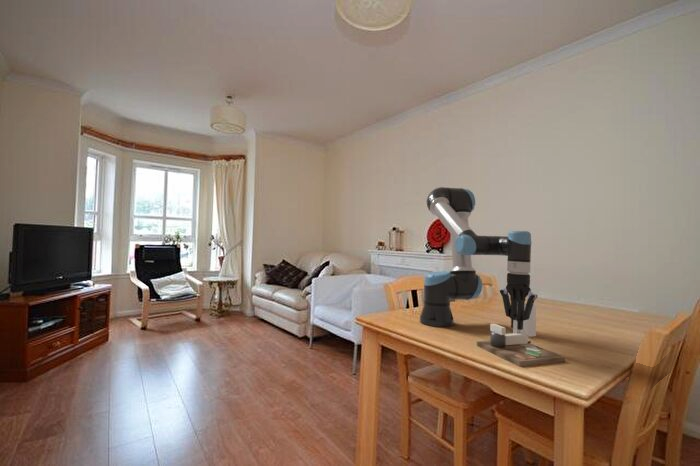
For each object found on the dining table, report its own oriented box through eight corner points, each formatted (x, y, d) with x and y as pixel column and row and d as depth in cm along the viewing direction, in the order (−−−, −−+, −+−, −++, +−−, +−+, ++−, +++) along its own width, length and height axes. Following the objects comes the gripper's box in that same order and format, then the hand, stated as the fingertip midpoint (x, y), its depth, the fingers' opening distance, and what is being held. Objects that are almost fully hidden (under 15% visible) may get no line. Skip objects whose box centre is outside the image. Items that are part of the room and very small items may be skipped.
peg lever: (497, 348, 110) (498, 328, 110) (486, 343, 115) (486, 324, 115) (536, 345, 114) (537, 325, 114) (524, 340, 119) (524, 321, 120)
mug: (530, 339, 126) (530, 309, 126) (507, 334, 132) (507, 305, 132) (539, 334, 134) (539, 305, 135) (517, 329, 141) (517, 302, 141)
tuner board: (476, 345, 118) (476, 340, 118) (516, 342, 123) (516, 337, 123) (519, 366, 98) (519, 361, 98) (565, 361, 103) (565, 356, 103)
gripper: (496, 271, 121) (494, 334, 121) (531, 275, 111) (529, 344, 110) (507, 270, 125) (505, 331, 125) (542, 274, 115) (540, 341, 114)
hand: (516, 337), depth 118 cm, fingers closed
